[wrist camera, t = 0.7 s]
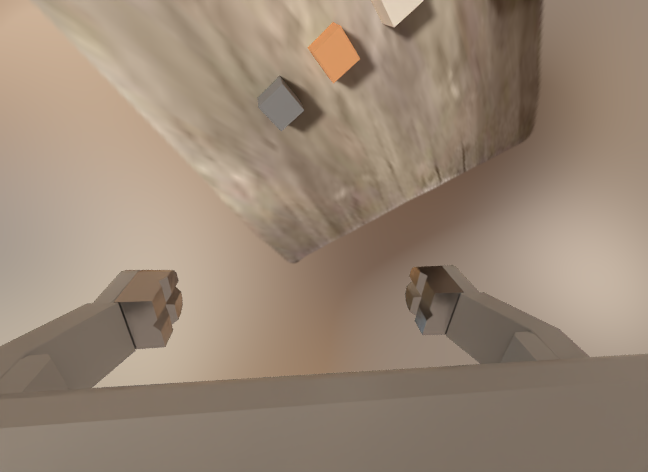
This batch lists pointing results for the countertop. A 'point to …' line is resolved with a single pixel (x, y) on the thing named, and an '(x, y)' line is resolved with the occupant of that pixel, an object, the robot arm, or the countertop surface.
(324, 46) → the terracotta cube
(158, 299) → the robot arm
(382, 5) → the offwhite cube
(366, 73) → the countertop surface
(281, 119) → the charcoal cube
